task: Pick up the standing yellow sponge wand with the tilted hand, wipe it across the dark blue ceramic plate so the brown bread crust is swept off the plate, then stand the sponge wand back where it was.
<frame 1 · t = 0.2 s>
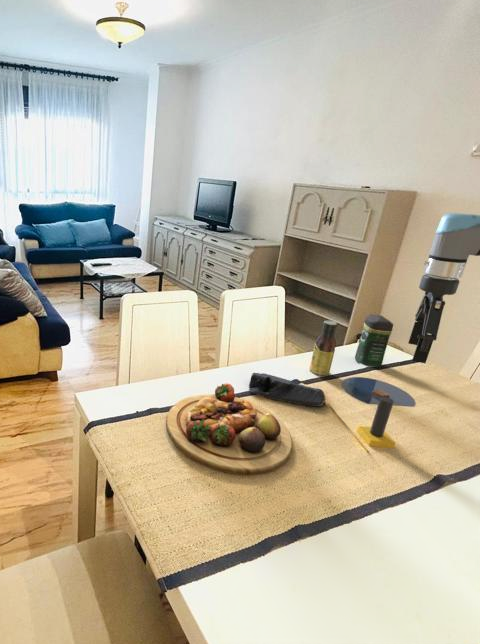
hand: (416, 352, 105), 20 cm above the table, tool pointing down, fingers open, 13 cm apart
plate: (375, 395, 122), on the table
crust: (380, 395, 120), point 1 cm above the table, touching plate
sauce bottle: (318, 375, 134), on the table
wooden plate: (226, 433, 101), on the table
sponge wand: (372, 445, 99), on the table
dark slate chunk: (285, 393, 122), on the table
coffee jar: (367, 364, 144), on the table
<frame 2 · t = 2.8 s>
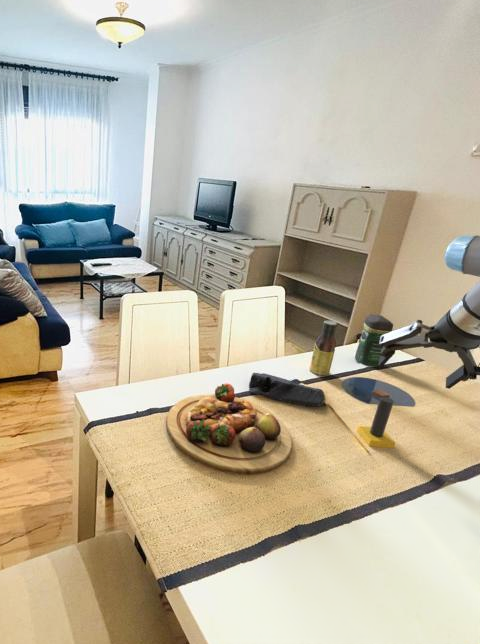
hand: (413, 372, 89), 22 cm above the table, tool tilted 35°, fingers open, 13 cm apart
nothing on the table moved.
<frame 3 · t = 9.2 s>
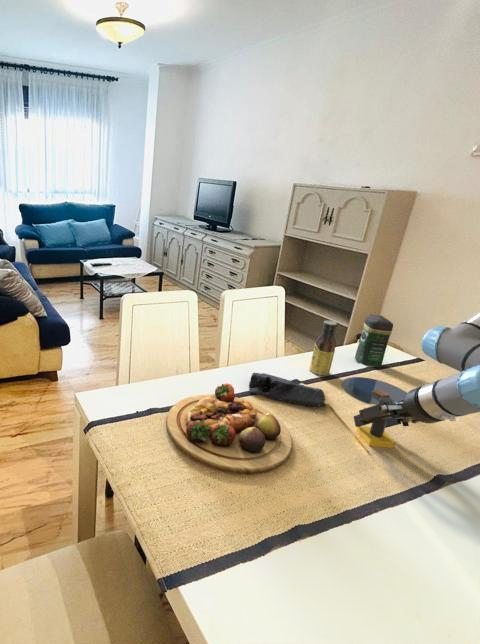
hand: (368, 422, 100), 4 cm above the table, tool tilted 45°, fingers closed on sponge wand, 6 cm apart
sponge wand: (372, 445, 99), on the table, touching gripper
everything else where it was.
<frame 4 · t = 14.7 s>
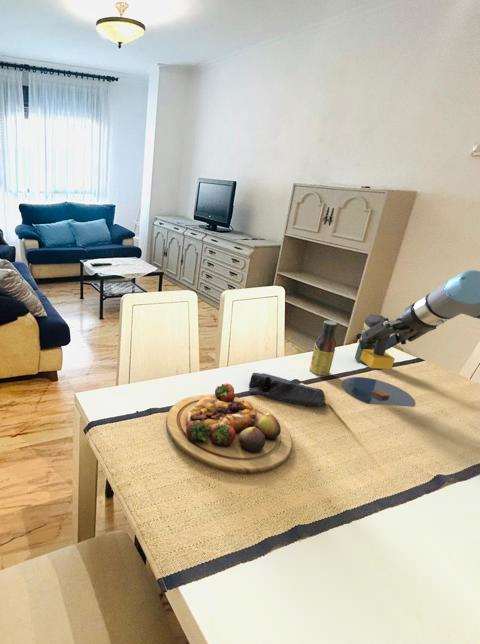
hand: (372, 345, 118), 16 cm above the table, tool tilted 45°, fingers closed on sponge wand, 6 cm apart
sponge wand: (375, 364, 117), point 12 cm above the table, touching gripper
everything else where it was.
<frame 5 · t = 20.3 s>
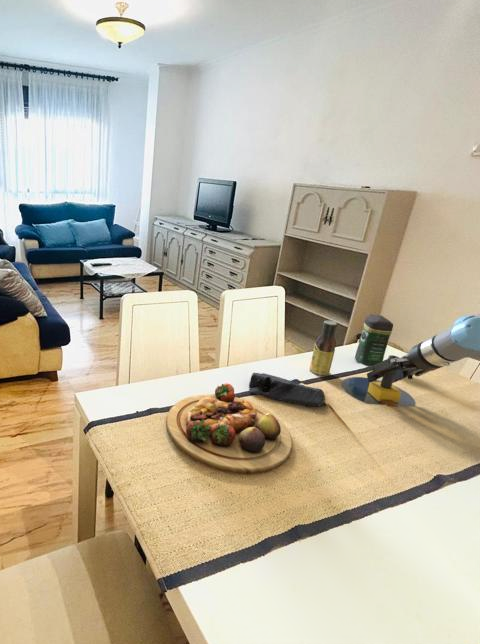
hand: (379, 378, 121), 6 cm above the table, tool tilted 45°, fingers closed on sponge wand, 6 cm apart
crust: (389, 405, 115), point 1 cm above the table
sponge wand: (382, 396, 119), point 1 cm above the table, touching gripper
everything else where it was.
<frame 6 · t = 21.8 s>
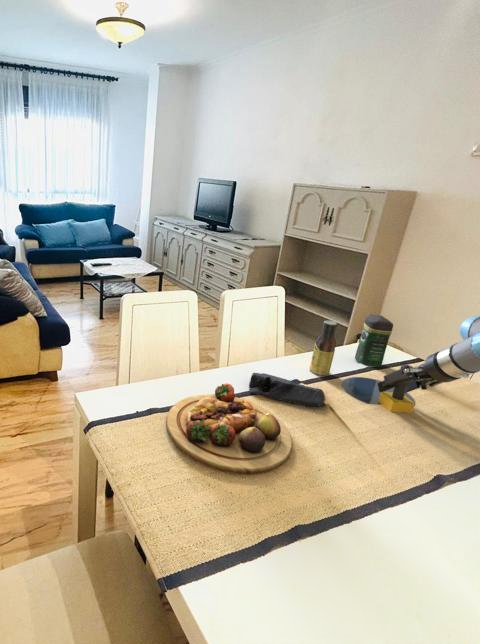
hand: (391, 388, 115), 6 cm above the table, tool tilted 45°, fingers closed on sponge wand, 6 cm apart
crust: (397, 417, 111), on the table
sponge wand: (394, 407, 113), point 1 cm above the table, touching gripper
everything else where it was.
when the fingers open (4 cm above the table, at t = 31.3 s): sponge wand stays where it is, on the table.
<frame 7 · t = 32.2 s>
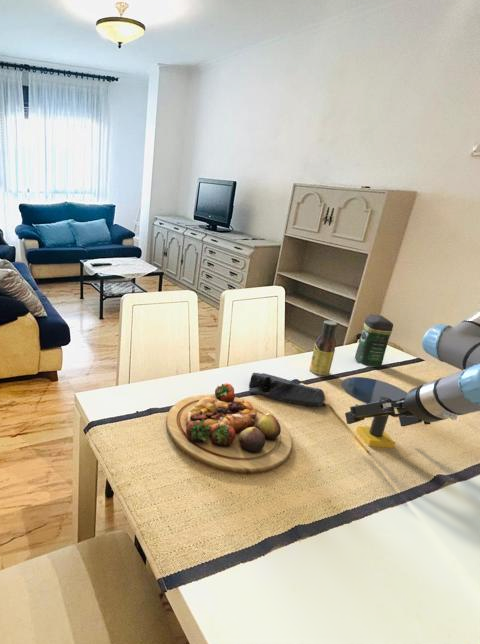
hand: (374, 419, 98), 6 cm above the table, tool tilted 45°, fingers open, 13 cm apart
sponge wand: (372, 445, 99), on the table
everything else where it was.
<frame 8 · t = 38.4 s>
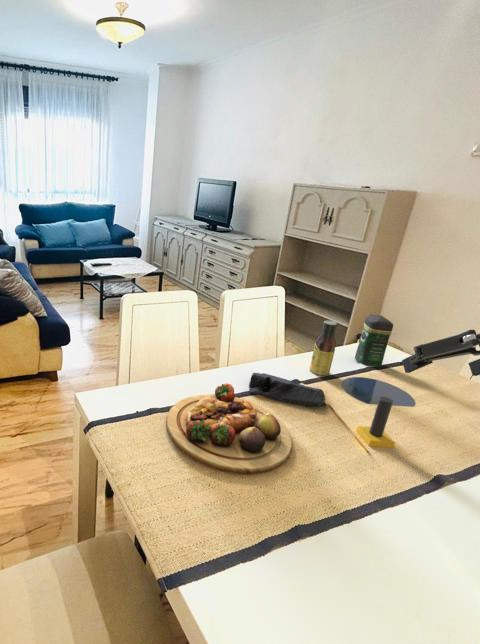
hand: (438, 368, 79), 28 cm above the table, tool tilted 45°, fingers open, 13 cm apart
nothing on the table moved.
at the end: crust on the table; sponge wand tilted 0°; sponge wand inside the target area (0.1 cm from its centre), on the table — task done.
